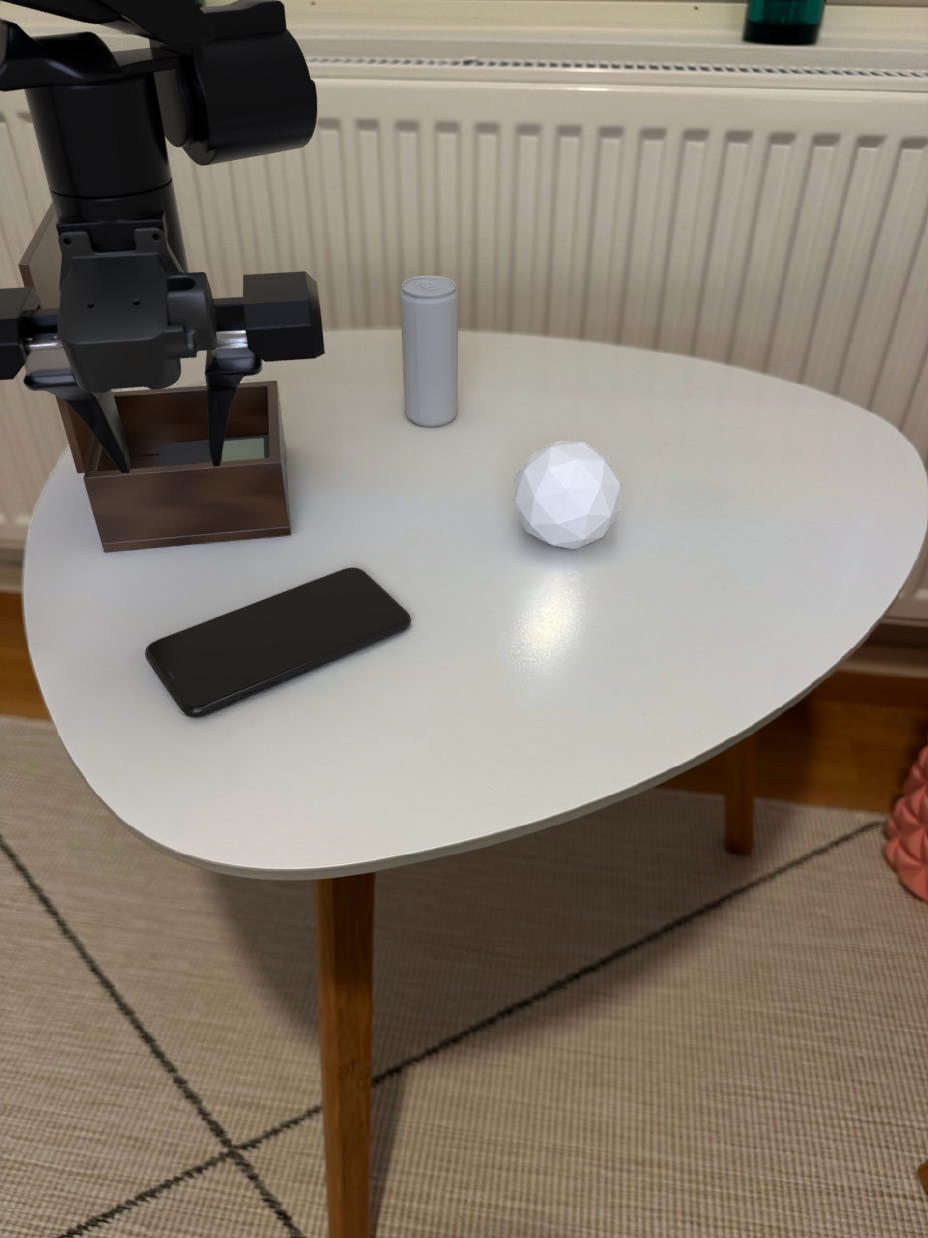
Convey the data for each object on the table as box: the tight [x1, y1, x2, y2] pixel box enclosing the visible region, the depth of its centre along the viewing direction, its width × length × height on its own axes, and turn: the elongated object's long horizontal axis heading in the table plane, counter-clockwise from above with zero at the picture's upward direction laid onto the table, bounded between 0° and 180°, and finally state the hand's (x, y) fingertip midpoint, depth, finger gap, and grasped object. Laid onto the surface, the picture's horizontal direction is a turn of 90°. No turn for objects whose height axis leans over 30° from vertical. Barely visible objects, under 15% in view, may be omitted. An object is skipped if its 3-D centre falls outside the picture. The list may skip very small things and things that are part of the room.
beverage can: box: [399, 274, 459, 428], centre depth 85 cm, size 5×5×12 cm
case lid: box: [18, 201, 95, 475], centre depth 68 cm, size 14×14×1 cm
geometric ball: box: [514, 439, 622, 550], centre depth 71 cm, size 8×8×8 cm
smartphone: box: [144, 566, 412, 719], centre depth 63 cm, size 8×1×16 cm
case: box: [82, 379, 292, 553], centre depth 76 cm, size 14×14×6 cm
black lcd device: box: [157, 435, 270, 467], centre depth 76 cm, size 8×6×3 cm, turn 100°
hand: (172, 466), depth 57 cm, fingers open, 5 cm apart
